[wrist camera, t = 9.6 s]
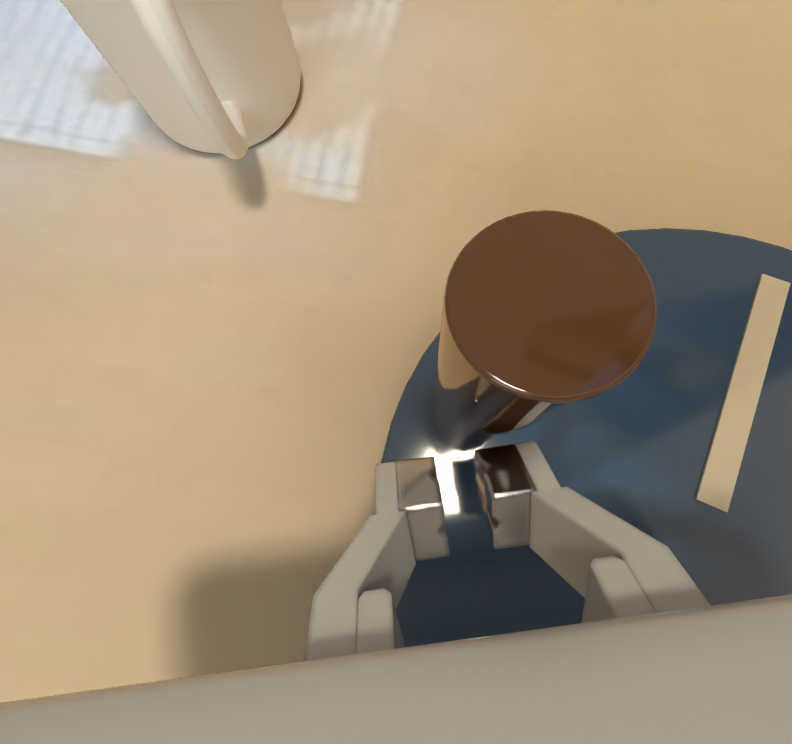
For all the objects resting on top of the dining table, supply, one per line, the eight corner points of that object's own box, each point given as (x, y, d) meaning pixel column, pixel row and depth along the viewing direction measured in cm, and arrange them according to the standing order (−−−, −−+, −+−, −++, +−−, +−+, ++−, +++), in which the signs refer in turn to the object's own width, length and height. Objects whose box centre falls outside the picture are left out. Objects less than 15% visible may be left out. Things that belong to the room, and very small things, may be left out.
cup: (281, 17, 23) (173, -329, 13) (345, 183, 20) (267, -105, 10) (143, 65, 23) (-73, -249, 13) (186, 239, 20) (-54, 4, 10)
